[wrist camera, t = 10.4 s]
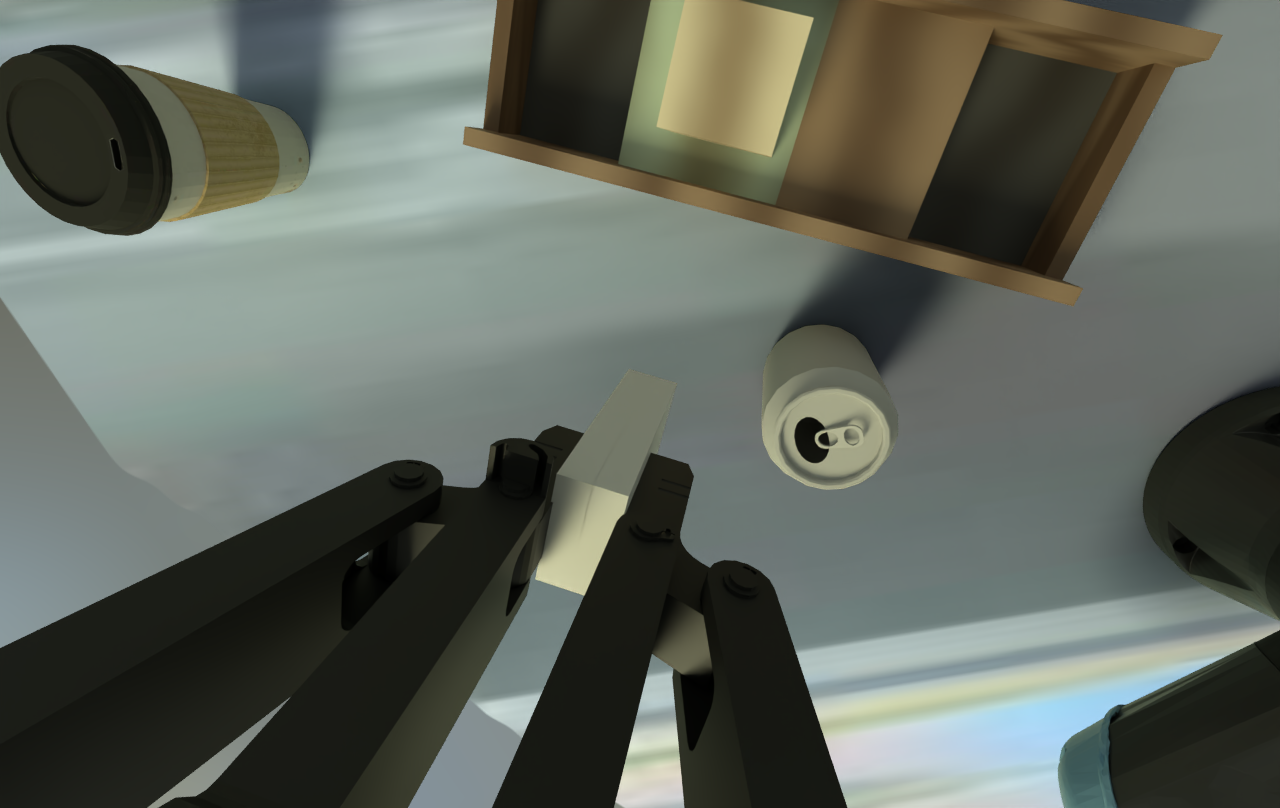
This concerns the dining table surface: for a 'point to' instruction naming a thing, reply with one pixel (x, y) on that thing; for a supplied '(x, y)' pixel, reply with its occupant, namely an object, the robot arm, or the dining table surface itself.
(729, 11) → the maple block
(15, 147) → the coffee cup
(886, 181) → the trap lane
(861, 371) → the can
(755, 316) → the dining table surface
